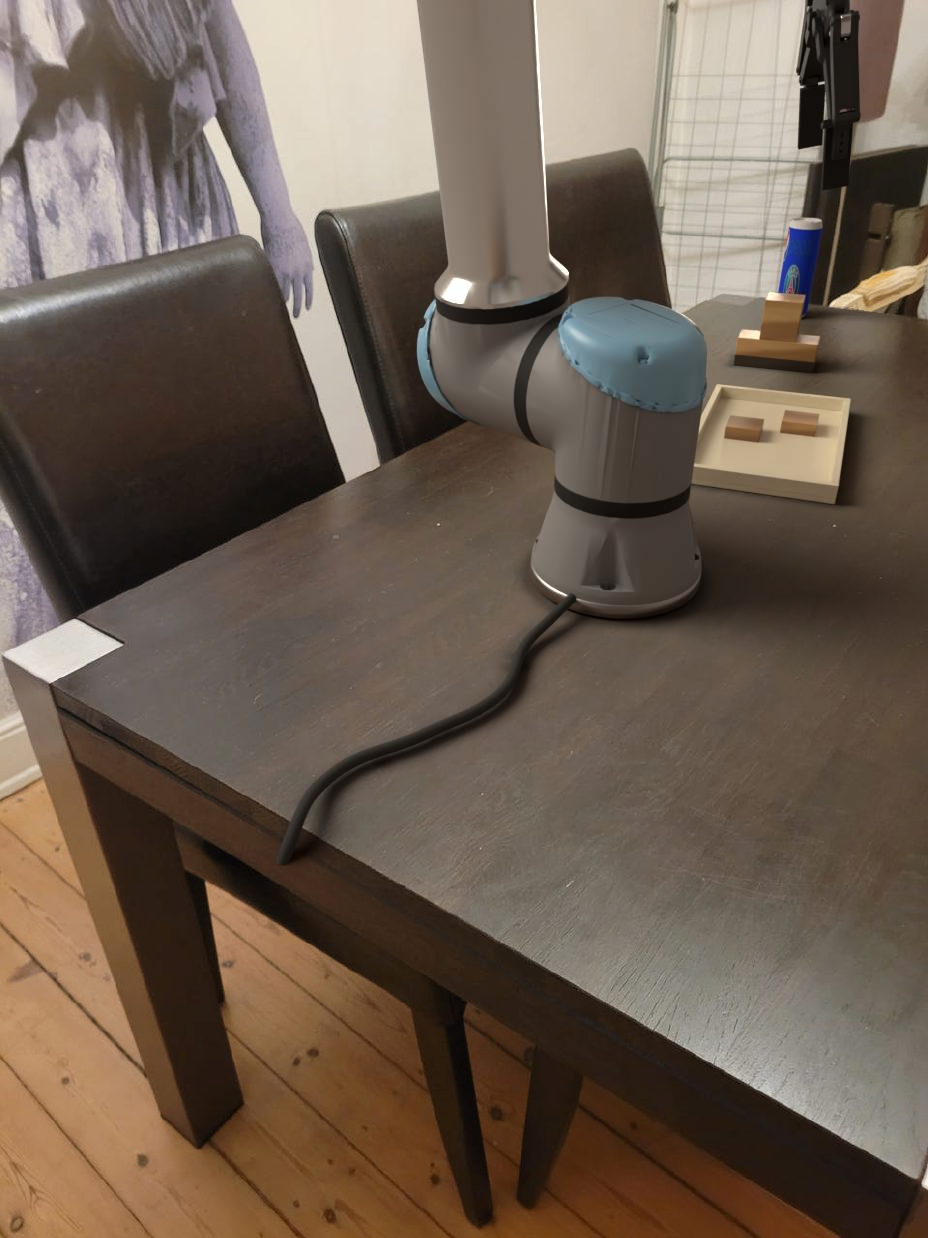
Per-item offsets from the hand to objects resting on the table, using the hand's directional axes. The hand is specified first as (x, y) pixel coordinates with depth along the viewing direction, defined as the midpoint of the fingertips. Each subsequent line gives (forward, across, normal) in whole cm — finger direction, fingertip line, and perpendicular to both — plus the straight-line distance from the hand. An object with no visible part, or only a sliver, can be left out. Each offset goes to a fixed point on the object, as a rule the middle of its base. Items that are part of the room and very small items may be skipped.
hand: (821, 166), depth 106 cm
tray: (+23, -20, +9) cm, 32 cm away
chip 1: (+23, -18, +11) cm, 31 cm away
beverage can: (+37, +36, -4) cm, 52 cm away
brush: (+30, +10, +3) cm, 32 cm away
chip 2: (+24, -16, +4) cm, 30 cm away
